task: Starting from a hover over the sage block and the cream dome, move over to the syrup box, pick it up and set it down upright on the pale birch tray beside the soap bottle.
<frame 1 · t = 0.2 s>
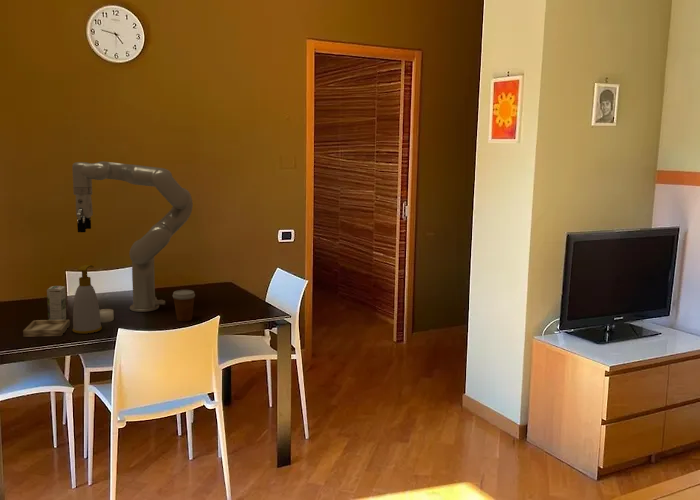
hand: (84, 230, 295), 36 cm above the table, tool pointing down, fingers open, 9 cm apart
disposable coffee cup: (184, 319, 292), on the table
soap bottle: (87, 330, 274), on the table
syrup box: (57, 321, 285), on the table
cream dome: (105, 320, 288), on the table
tray: (47, 330, 271), on the table
sage block: (87, 317, 292), on the table
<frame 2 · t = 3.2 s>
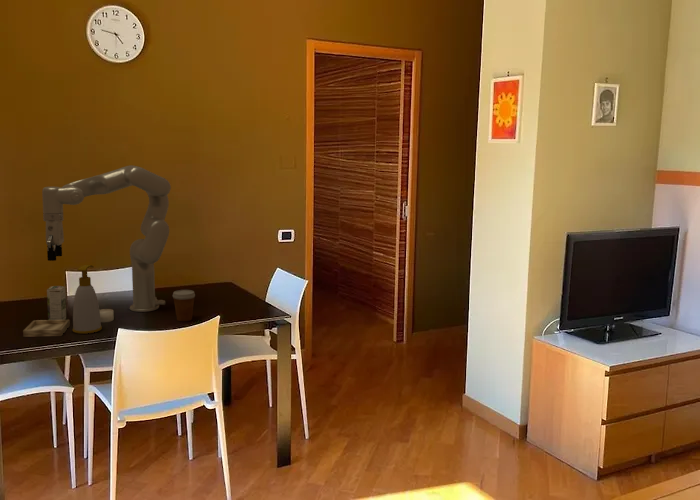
hand: (55, 258, 280), 27 cm above the table, tool pointing down, fingers open, 9 cm apart
nothing on the table moved.
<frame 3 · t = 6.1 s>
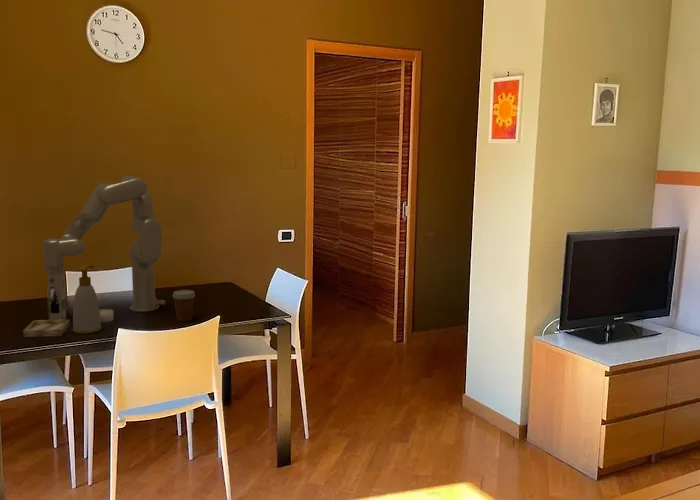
hand: (57, 310, 284), 5 cm above the table, tool pointing down, fingers closed on syrup box, 5 cm apart
syrup box: (57, 321, 285), on the table, touching gripper
everything else where it was.
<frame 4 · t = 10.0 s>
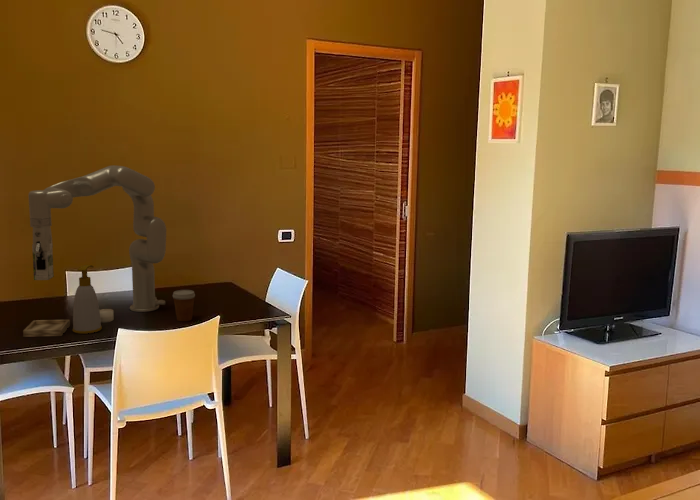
hand: (43, 267, 267), 26 cm above the table, tool pointing down, fingers closed on syrup box, 5 cm apart
syrup box: (44, 279, 268), point 21 cm above the table, touching gripper
everything else where it was.
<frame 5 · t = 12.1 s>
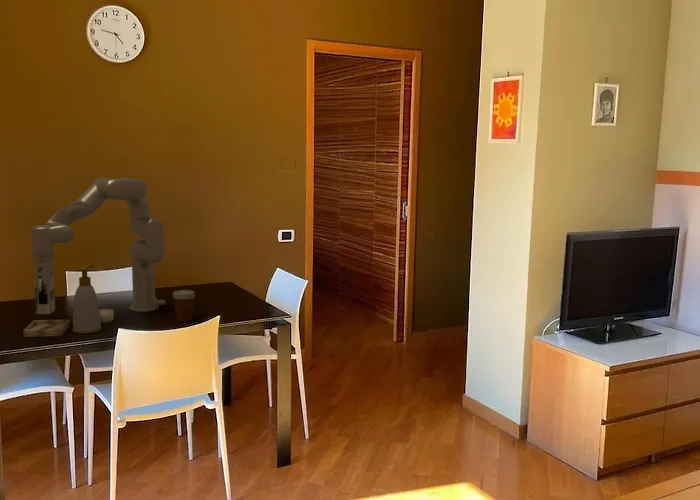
hand: (45, 301, 269), 12 cm above the table, tool pointing down, fingers closed on syrup box, 5 cm apart
syrup box: (46, 312, 270), point 7 cm above the table, touching gripper
everything else where it was.
when the fingers open (7 cm above the table, at t = 13.8 s): syrup box drops 1 cm, resting on tray.
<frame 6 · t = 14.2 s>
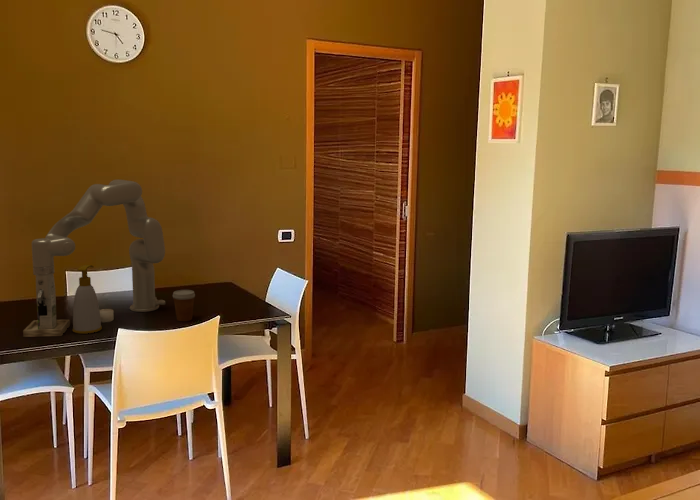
hand: (46, 312, 270), 8 cm above the table, tool pointing down, fingers open, 9 cm apart
syrup box: (47, 328, 271), point 1 cm above the table, touching tray
everything else where it was.
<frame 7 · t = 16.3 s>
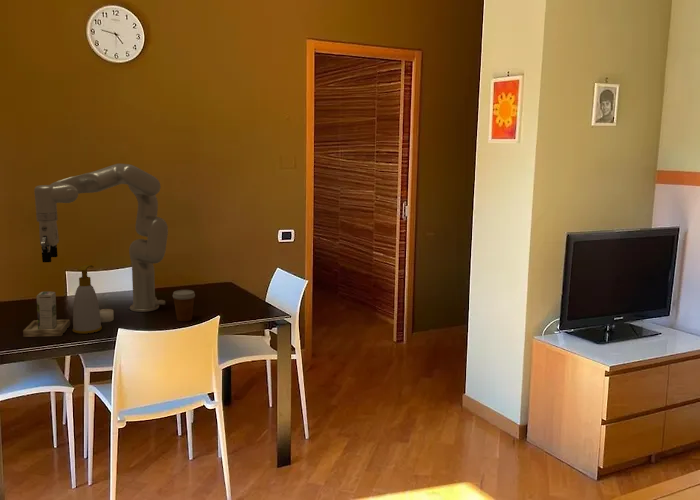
hand: (50, 259, 270), 28 cm above the table, tool pointing down, fingers open, 9 cm apart
nothing on the table moved.
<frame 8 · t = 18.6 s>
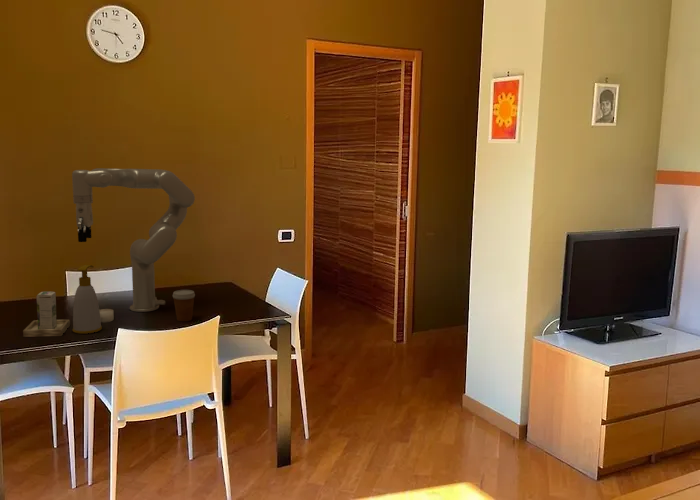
hand: (85, 239, 288), 33 cm above the table, tool pointing down, fingers open, 9 cm apart
nothing on the table moved.
at the end: syrup box inside the target area on the tray (0.2 cm from its centre), point 0.8 cm above the tray's base; syrup box tilted 0°; the gripper is holding nothing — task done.
